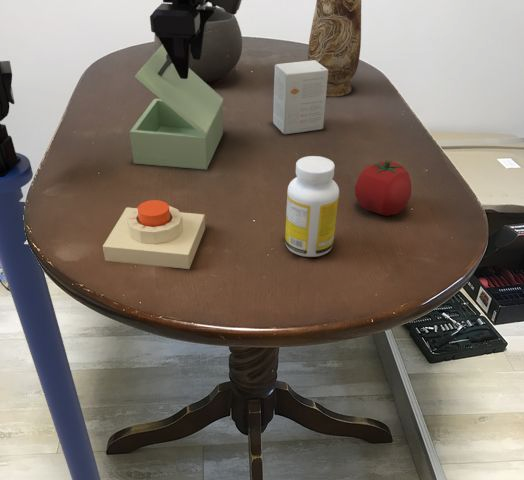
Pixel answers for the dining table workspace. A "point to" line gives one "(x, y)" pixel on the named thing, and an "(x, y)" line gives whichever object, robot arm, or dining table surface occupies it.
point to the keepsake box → (173, 139)
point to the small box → (299, 96)
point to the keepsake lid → (180, 91)
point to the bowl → (216, 47)
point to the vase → (336, 42)
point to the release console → (155, 240)
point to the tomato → (383, 188)
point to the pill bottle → (311, 207)
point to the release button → (153, 213)
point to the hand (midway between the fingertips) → (190, 68)
